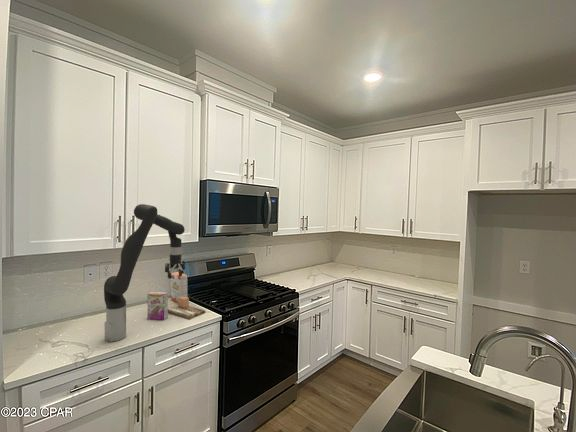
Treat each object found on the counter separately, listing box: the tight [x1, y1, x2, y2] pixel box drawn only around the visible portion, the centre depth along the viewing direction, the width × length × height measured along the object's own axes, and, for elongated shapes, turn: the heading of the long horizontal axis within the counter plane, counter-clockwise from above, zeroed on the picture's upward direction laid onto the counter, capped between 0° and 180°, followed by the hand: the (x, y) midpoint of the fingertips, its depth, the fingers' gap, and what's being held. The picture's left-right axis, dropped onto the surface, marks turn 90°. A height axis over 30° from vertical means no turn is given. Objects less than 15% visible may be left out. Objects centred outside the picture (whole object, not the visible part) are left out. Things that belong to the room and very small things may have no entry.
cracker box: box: [170, 271, 188, 304], centre depth 212 cm, size 14×6×21 cm, turn 49°
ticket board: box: [168, 305, 206, 321], centre depth 192 cm, size 14×22×3 cm, turn 60°
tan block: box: [177, 296, 190, 308], centre depth 198 cm, size 4×6×6 cm, turn 61°
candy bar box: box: [147, 291, 169, 321], centre depth 181 cm, size 11×5×16 cm, turn 84°
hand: (175, 277), depth 195 cm, fingers open, 8 cm apart
